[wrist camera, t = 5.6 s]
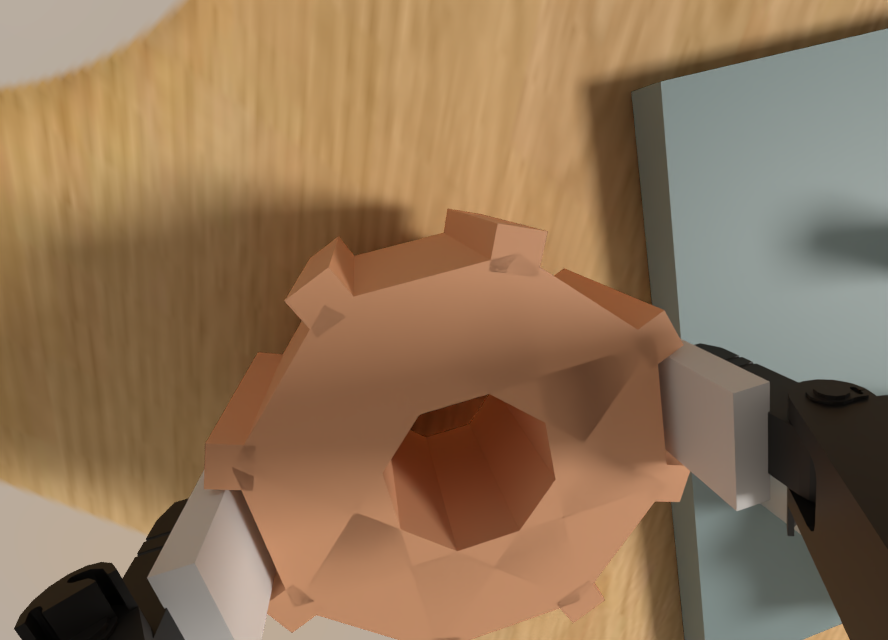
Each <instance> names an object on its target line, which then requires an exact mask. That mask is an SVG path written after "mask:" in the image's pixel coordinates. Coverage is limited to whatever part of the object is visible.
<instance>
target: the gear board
mask: <svg viewBox="0 0 888 640" xmlns="http://www.w3.org/2000/svg"><path fill="white" fill-rule="evenodd" d="M631 93H632V103H633V114H634V124H635V134H636V144H637V155H638V165H639V175H640V186H641V196H642V206H643V217H644V227H645V237H646V247H647V258H648V268H649V278H650V289H651V299H652V305H653V306H656V307H658V308H660V309H663V310H665V312H666V314H667V316H668V318H669V319H670V321H671V323H672V325H673V327H674V328H675V330H676V332H677V334H678V336H679V338H680V339H682V340H684V341H687V342H689V343H691V344H693V345H696V344H699V343H702V344H707V345H711V346H716V347H721V348H724V349H726V350H728V351H730V352H733V353H735V354H737V355H739V357H744V358H746V359H748V360H750V361H752V362H753V364H756V363H757V364H759V365H761V366H763V367H766V368H768V369H770V370H772V371H774V372H777V373H779V374H781V375H783V376H785V377H788V378H790V379H792V380H794V381H796V382H802V381H807V380H815V379H825V380H838V381H843V382H849V383H853V384H855V385H858V386H861V387H864V388H866V389H867V390H869V391H870V392H872V393H873V394H875V395H876V396H881V395H888V29H883V30H879V31H875V32H871V33H866V34H862V35H858V36H854V37H849V38H845V39H841V40H836V41H832V42H828V43H824V44H819V45H815V46H811V47H806V48H802V49H798V50H794V51H789V52H785V53H781V54H776V55H772V56H768V57H764V58H759V59H755V60H751V61H747V62H742V63H738V64H734V65H729V66H725V67H721V68H717V69H712V70H708V71H704V72H699V73H695V74H691V75H687V76H682V77H678V78H674V79H670V80H665V81H661V82H658V83H655V84H652V85H650V86H647V87H644V88H641V89H638V90H635V91H633V92H631ZM671 505H672V515H673V525H674V535H675V546H676V556H677V566H678V577H679V587H680V597H681V607H682V618H683V628H684V638H685V640H803V639H805V638H808V637H810V636H813V635H815V634H818V633H820V632H823V631H825V630H828V629H830V628H832V627H835V626H837V625H840V624H842V622H841V620H840V617H839V615H838V613H837V611H836V609H835V607H834V604H833V602H832V600H831V598H830V596H829V594H828V591H827V589H826V587H825V585H824V583H823V581H822V578H821V576H820V574H819V572H818V570H817V568H816V565H815V563H814V561H813V559H812V557H811V555H810V552H809V550H808V548H807V546H806V544H805V542H804V539H803V537H802V535H801V533H800V531H799V529H798V526H797V525H796V526H795V527H794V536H788V535H787V486H785V485H784V484H783V483H781V482H780V481H778V480H777V479H775V478H774V477H773V476H771V475H770V500H768V501H765V502H762V503H760V504H757V505H754V506H751V507H748V508H745V509H742V510H739V511H736V510H735V509H734V508H732V507H731V506H730V505H729V504H728V503H727V502H725V501H724V500H723V499H722V498H721V497H720V496H719V495H717V494H716V493H715V492H714V491H713V490H712V489H710V488H709V487H708V486H707V485H706V484H705V483H704V482H702V481H701V480H700V479H699V478H698V477H697V476H695V475H694V474H693V473H692V472H691V471H690V473H689V476H688V479H687V482H686V485H685V488H684V491H683V494H682V497H681V500H680V502H671Z"/></svg>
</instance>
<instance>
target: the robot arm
mask: <svg viewBox="0 0 888 640" xmlns="http://www.w3.org/2000/svg"><path fill="white" fill-rule="evenodd" d="M681 341H682V343H683V346H682V347H681V348H679V349H678V350H677V351H675V352H674V353H672V354H671V355H670V356H668V357H667V358H666V359H664V360H663V361H662V362H660V363H659V364H658V371H659V382H660V393H661V405H662V416H663V427H664V439H665V450H667V451H668V452H669V453H670V454H671V455H672V456H674V457H675V458H676V459H677V460H678V461H679V462H680V463H682V464H683V465H684V466H685V467H686V468H687V469H689V470H690V471H691V472H692V473H693V474H694V475H695V476H697V477H698V478H699V479H700V480H701V481H702V482H704V483H705V484H706V485H707V486H708V487H709V488H710V489H712V490H713V491H714V492H715V493H716V494H717V495H719V496H720V497H721V498H722V499H723V500H724V501H725V502H727V503H728V504H729V505H730V506H731V507H732V508H734V509H735V510H736V511H739V510H742V509H745V508H748V507H751V506H754V505H757V504H760V503H762V502H765V501H768V500H770V475H771V476H773V477H774V478H775V479H777V480H778V481H780V482H781V483H783V484H784V485H785V486H787V535H788V536H794V527H795V526H796V525H797V526H798V529H799V531H800V533H801V535H802V537H803V539H804V542H805V544H806V546H807V548H808V550H809V552H810V555H811V557H812V559H813V561H814V563H815V565H816V568H817V570H818V572H819V574H820V576H821V578H822V581H823V583H824V585H825V587H826V589H827V591H828V594H829V596H830V598H831V600H832V602H833V604H834V607H835V609H836V611H837V613H838V615H839V617H840V620H841V622H842V624H843V626H844V628H845V630H846V633H847V635H848V637H849V639H850V640H888V395H881V396H876V395H875V394H873V393H872V392H870V391H869V390H867V389H866V388H864V387H861V386H858V385H855V384H853V383H849V382H843V381H838V380H825V379H815V380H807V381H802V382H796V381H794V380H792V379H790V378H788V377H785V376H783V375H781V374H779V373H777V372H774V371H772V370H770V369H768V368H766V367H763V366H761V365H759V364H757V363H756V364H753V362H752V361H750V360H748V359H746V358H744V357H739V355H737V354H735V353H733V352H730V351H728V350H726V349H724V348H721V347H716V346H711V345H707V344H702V343H699V344H696V345H693V344H691V343H689V342H687V341H684V340H682V339H681ZM146 540H147V541H146V542H144V543H143V545H142V547H141V548H140V550H139V551H138V553H137V554H138V557H135V558H134V560H133V562H132V563H131V565H130V567H129V569H128V570H127V572H126V574H125V575H124V577H123V579H122V578H121V576H120V574H119V573H118V571H117V569H116V568H115V567H114V565H113V564H112V563H104V562H100V563H96V564H92V565H88V566H85V567H83V568H81V569H79V570H77V571H74V572H72V573H70V574H68V575H67V576H65V577H64V578H62V579H60V580H59V581H57V582H56V583H54V584H53V585H51V586H50V587H48V588H47V589H46V590H45V591H44V592H42V593H41V594H40V595H39V596H38V597H37V598H35V599H34V600H33V601H32V602H31V603H30V604H29V606H28V607H27V608H26V609H25V610H24V612H23V613H22V614H21V615H20V617H19V619H18V621H17V623H16V626H15V628H14V629H15V631H16V632H17V633H18V635H19V636H20V638H21V639H22V640H262V635H263V630H264V625H265V620H266V615H267V611H268V606H269V601H270V596H271V591H272V586H273V582H274V577H275V572H276V567H275V565H274V562H273V560H272V558H271V556H270V553H269V551H268V549H267V547H266V544H265V542H264V540H263V538H262V535H261V533H260V531H259V529H258V526H257V524H256V522H255V520H254V518H253V515H252V513H251V511H250V509H249V506H248V504H247V502H246V500H245V497H244V495H243V493H242V491H241V490H215V489H204V471H203V473H202V474H201V476H200V478H199V480H198V482H197V484H196V486H195V488H194V490H193V492H192V493H191V495H190V497H189V498H188V499H185V500H182V501H178V502H175V503H174V504H173V505H172V506H171V507H170V508H169V509H168V510H167V511H166V512H165V513H164V514H163V515H162V516H161V517H160V518H159V519H158V520H157V521H156V523H155V524H154V526H153V528H152V529H151V531H150V533H149V534H148V536H147V538H146Z"/></svg>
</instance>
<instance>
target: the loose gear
mask: <svg viewBox="0 0 888 640" xmlns="http://www.w3.org/2000/svg"><path fill="white" fill-rule="evenodd" d="M547 233H548V231H544V230H541V229H537V228H533V227H529V226H525V225H521V224H517V223H513V222H509V221H506V220H502V219H498V218H494V217H490V216H486V215H482V214H477V213H471V212H465V211H459V210H452V209H447V215H446V222H445V228H444V233H441V234H437V235H433V236H429V237H425V238H421V239H418V240H414V241H410V242H406V243H402V244H398V245H394V246H390V247H387V248H383V249H379V250H375V251H371V252H367V253H363V254H359V255H356V256H354V255H353V254H352V252H351V251H350V250H349V249H348V247H347V246H346V245H345V244H344V242H343V241H342V240H341V239H340V237H339V236H338V237H337V238H336V239H334V240H333V241H332V242H330V243H329V244H328V245H326V246H325V247H324V248H322V249H321V250H320V251H319V252H317V253H316V254H315V255H313V256H312V257H311V258H310V259H309V261H308V262H307V264H306V266H305V267H304V269H303V271H302V272H301V274H300V276H299V277H298V279H297V281H296V282H295V284H294V286H293V287H292V289H291V290H290V292H289V294H288V295H287V297H286V299H285V300H284V301H285V302H286V303H287V305H288V306H289V307H290V308H291V309H292V310H293V311H294V312H295V313H296V315H297V316H298V317H299V318H300V319H301V320H302V321H301V323H300V325H299V326H298V328H297V330H296V332H295V333H294V335H293V337H292V339H291V340H290V342H289V344H288V346H287V348H286V349H285V351H284V353H283V354H274V353H262V352H258V353H257V355H256V356H255V358H254V360H253V362H252V363H251V365H250V367H249V368H248V370H247V372H246V374H245V375H244V377H243V379H242V381H241V382H240V384H239V386H238V388H237V389H236V391H235V393H234V395H233V396H232V398H231V400H230V401H229V403H228V405H227V407H226V408H225V410H224V412H223V414H222V415H221V417H220V419H219V421H218V422H217V424H216V426H215V428H214V429H213V431H212V433H211V434H210V436H209V438H208V440H207V441H206V443H205V467H204V489H215V490H241V491H242V493H243V495H244V497H245V500H246V502H247V504H248V506H249V509H250V511H251V513H252V515H253V518H254V520H255V522H256V524H257V526H258V529H259V531H260V533H261V535H262V538H263V540H264V542H265V544H266V547H267V549H268V551H269V553H270V556H271V558H272V560H273V562H274V565H275V567H276V572H275V577H274V582H273V586H272V591H271V596H270V601H269V606H268V611H267V614H268V615H270V616H271V617H272V618H273V619H275V620H276V621H277V622H279V623H280V624H281V625H282V626H284V627H285V628H286V629H288V630H289V631H290V632H291V633H293V632H294V631H295V630H297V629H298V628H299V627H301V626H302V625H303V624H305V623H306V622H307V621H309V620H310V619H312V618H313V617H314V616H316V615H318V616H322V617H325V618H328V619H332V620H335V621H339V622H341V623H345V624H348V625H351V626H355V627H358V628H361V629H365V630H368V631H371V632H374V633H378V634H381V635H384V636H388V637H391V638H394V639H398V640H471V639H474V638H477V637H480V636H483V635H485V634H488V633H491V632H494V631H497V630H500V629H502V628H505V627H508V626H511V625H514V624H517V623H519V622H522V621H525V620H528V619H531V618H534V617H536V616H539V615H542V614H545V613H548V612H551V611H553V610H556V609H559V608H560V609H561V610H562V611H563V612H564V613H565V614H566V615H567V617H568V618H569V619H570V620H571V621H572V622H573V623H574V622H575V621H577V620H578V619H579V618H581V617H582V616H584V615H585V614H586V613H588V612H589V611H591V610H592V609H593V608H595V607H596V606H597V605H599V604H600V603H602V602H603V601H604V600H605V599H604V597H603V596H602V594H601V592H600V591H599V589H598V587H597V586H596V584H595V581H596V579H597V578H598V577H599V575H600V574H601V573H602V571H603V570H604V569H605V567H606V566H607V565H608V563H609V562H610V561H611V559H612V558H613V557H614V555H615V554H616V553H617V551H618V550H619V549H620V547H621V546H622V545H623V543H624V542H625V541H626V539H627V538H628V537H629V535H630V534H631V533H632V531H633V530H634V529H635V527H636V526H637V525H638V523H639V522H640V521H641V519H642V518H643V517H644V515H645V514H646V513H647V511H648V510H649V509H650V507H651V506H652V505H653V503H654V502H655V501H659V502H680V500H681V497H682V494H683V491H684V488H685V485H686V482H687V479H688V476H689V473H690V470H689V469H687V468H686V467H685V466H684V465H683V464H682V463H680V462H679V461H678V460H677V459H676V458H675V457H674V456H672V455H671V454H670V453H669V452H668V451H667V450H665V439H664V427H663V416H662V405H661V393H660V382H659V371H658V364H659V363H660V362H662V361H663V360H664V359H666V358H667V357H668V356H670V355H671V354H672V353H674V352H675V351H677V350H678V349H679V348H681V347H682V346H683V343H682V341H681V339H680V338H679V336H678V334H677V332H676V330H675V328H674V327H673V325H672V323H671V321H670V319H669V318H668V316H667V314H666V312H665V310H663V309H660V308H658V307H656V306H653V305H651V304H648V303H646V302H644V301H641V300H639V299H636V298H634V297H631V296H629V295H627V294H624V293H622V292H619V291H617V290H615V289H612V288H610V287H607V286H605V285H603V284H600V283H598V282H595V281H593V280H591V279H588V278H586V277H583V276H581V275H579V274H576V273H574V272H571V271H569V270H567V269H563V270H561V271H560V272H558V273H557V274H556V275H554V276H553V275H552V274H550V273H549V272H547V271H545V270H544V269H542V268H541V267H540V265H541V260H542V256H543V251H544V246H545V242H546V237H547ZM487 394H489V395H488V397H487V398H486V400H485V401H484V403H483V404H482V406H481V407H480V409H479V410H478V412H477V413H476V415H475V416H474V418H473V419H472V421H471V423H470V424H468V425H465V426H462V427H458V428H455V429H452V430H448V431H445V432H442V433H439V434H435V435H432V436H429V437H424V436H422V435H420V434H418V433H416V432H414V431H411V430H410V429H411V427H412V425H413V424H414V422H415V421H416V419H417V418H418V416H419V415H420V414H423V413H427V412H430V411H433V410H437V409H440V408H444V407H447V406H450V405H454V404H457V403H460V402H464V401H467V400H470V399H474V398H477V397H480V396H484V395H487Z"/></svg>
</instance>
